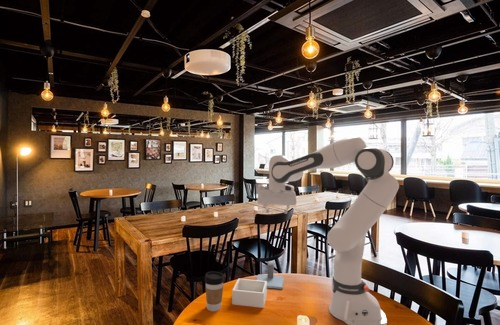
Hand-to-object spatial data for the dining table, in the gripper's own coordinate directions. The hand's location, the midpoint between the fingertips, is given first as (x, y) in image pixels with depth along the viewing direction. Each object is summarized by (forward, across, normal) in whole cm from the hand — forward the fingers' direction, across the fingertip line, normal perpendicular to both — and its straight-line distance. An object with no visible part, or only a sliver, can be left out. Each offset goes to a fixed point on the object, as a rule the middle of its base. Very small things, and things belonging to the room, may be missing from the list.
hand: (276, 213), depth 139 cm
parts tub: (+37, -10, -19) cm, 43 cm away
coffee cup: (+37, -24, -29) cm, 53 cm away
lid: (+36, -3, -1) cm, 36 cm away
